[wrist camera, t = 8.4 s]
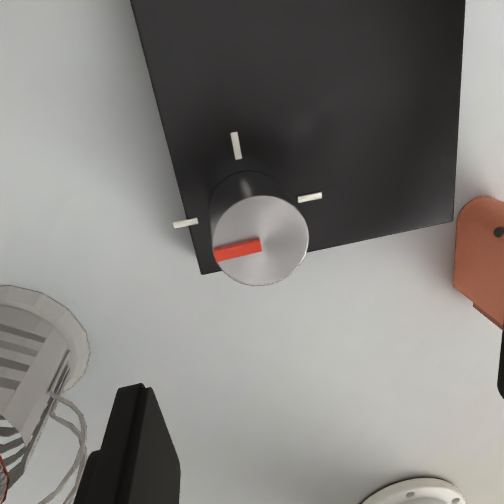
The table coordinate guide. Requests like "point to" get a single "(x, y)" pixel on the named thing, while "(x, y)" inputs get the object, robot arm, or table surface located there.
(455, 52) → the hot plate
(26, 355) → the french press
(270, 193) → the knob
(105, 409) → the table surface
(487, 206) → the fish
